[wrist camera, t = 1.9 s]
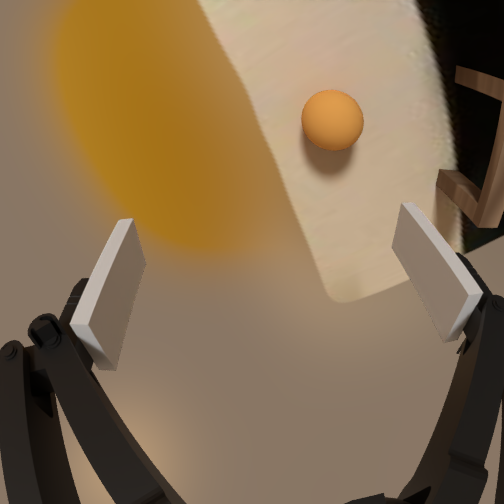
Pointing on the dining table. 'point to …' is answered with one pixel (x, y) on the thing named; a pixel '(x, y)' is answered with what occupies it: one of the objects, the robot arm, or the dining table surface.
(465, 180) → the bridge
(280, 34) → the dining table surface
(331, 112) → the ball
